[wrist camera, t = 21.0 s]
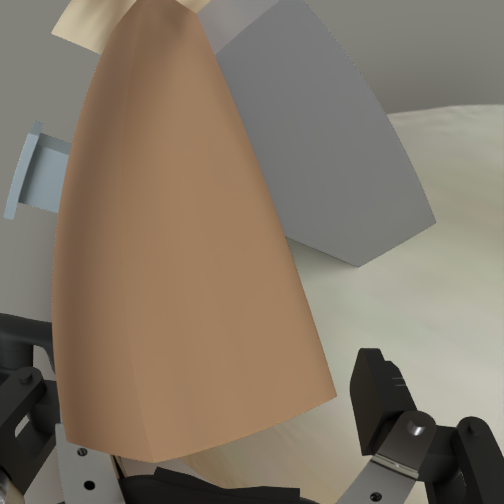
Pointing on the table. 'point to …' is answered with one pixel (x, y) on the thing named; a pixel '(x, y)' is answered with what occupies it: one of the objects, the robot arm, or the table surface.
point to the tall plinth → (39, 172)
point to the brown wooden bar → (171, 252)
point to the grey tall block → (316, 130)
